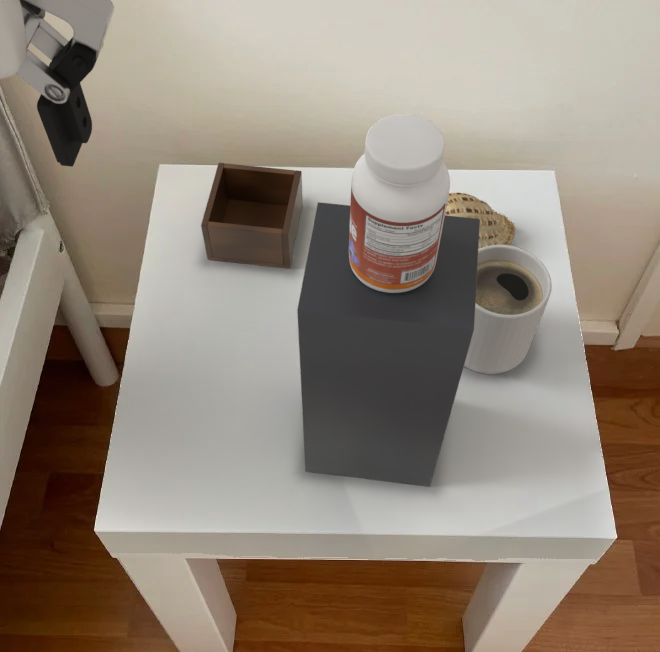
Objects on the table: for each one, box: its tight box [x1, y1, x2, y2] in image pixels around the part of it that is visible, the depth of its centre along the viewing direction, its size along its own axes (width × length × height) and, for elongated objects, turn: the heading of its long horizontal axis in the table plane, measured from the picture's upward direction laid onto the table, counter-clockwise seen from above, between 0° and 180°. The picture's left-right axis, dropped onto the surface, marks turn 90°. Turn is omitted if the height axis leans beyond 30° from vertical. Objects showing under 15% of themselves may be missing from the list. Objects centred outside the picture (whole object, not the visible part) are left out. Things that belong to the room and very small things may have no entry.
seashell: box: [445, 192, 516, 249], centre depth 90 cm, size 8×6×10 cm
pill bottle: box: [349, 113, 451, 293], centre depth 52 cm, size 6×6×11 cm
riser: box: [296, 201, 480, 488], centre depth 68 cm, size 12×10×26 cm
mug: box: [464, 244, 553, 375], centre depth 81 cm, size 11×10×10 cm
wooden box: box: [200, 162, 304, 269], centre depth 90 cm, size 9×9×6 cm
